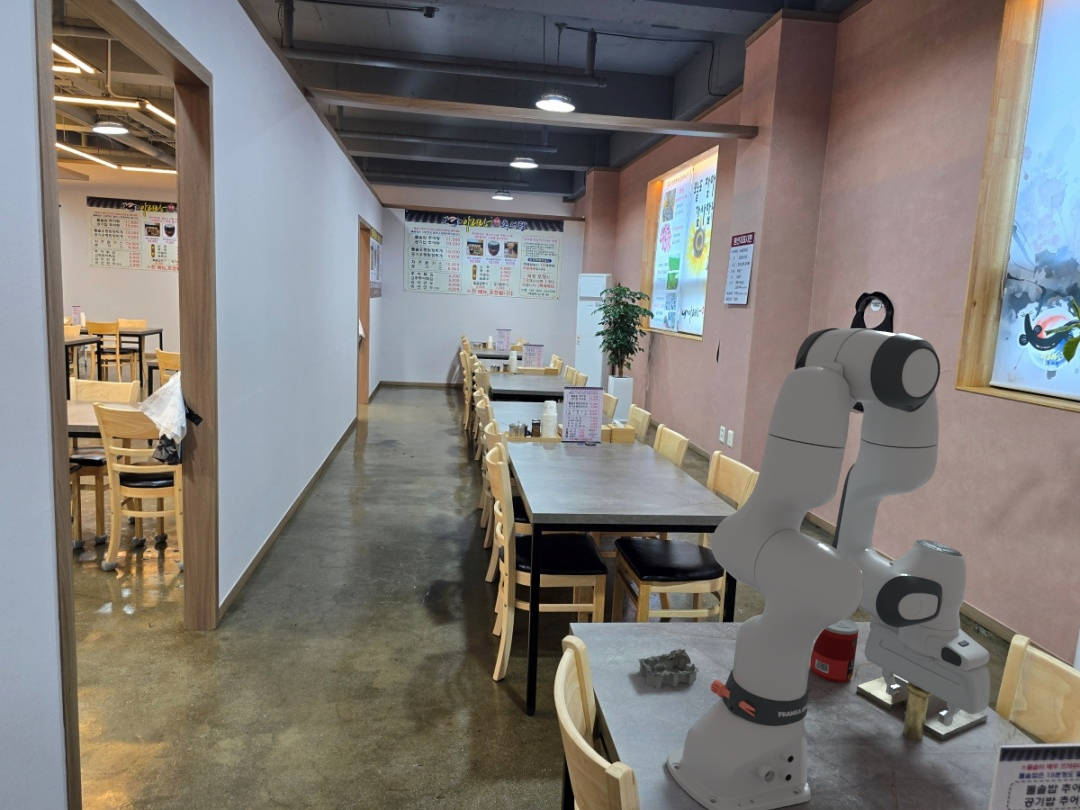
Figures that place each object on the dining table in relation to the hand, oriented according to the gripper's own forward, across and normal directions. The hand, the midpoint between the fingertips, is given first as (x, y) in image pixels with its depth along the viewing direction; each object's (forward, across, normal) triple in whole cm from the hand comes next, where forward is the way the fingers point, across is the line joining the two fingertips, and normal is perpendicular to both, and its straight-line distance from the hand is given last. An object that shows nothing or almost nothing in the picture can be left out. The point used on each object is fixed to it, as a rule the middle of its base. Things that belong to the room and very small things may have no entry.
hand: (917, 708), depth 119 cm
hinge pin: (+5, 0, -1) cm, 5 cm away
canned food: (+5, -20, +4) cm, 21 cm away
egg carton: (+5, -33, -28) cm, 43 cm away
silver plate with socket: (+5, -5, +9) cm, 12 cm away
